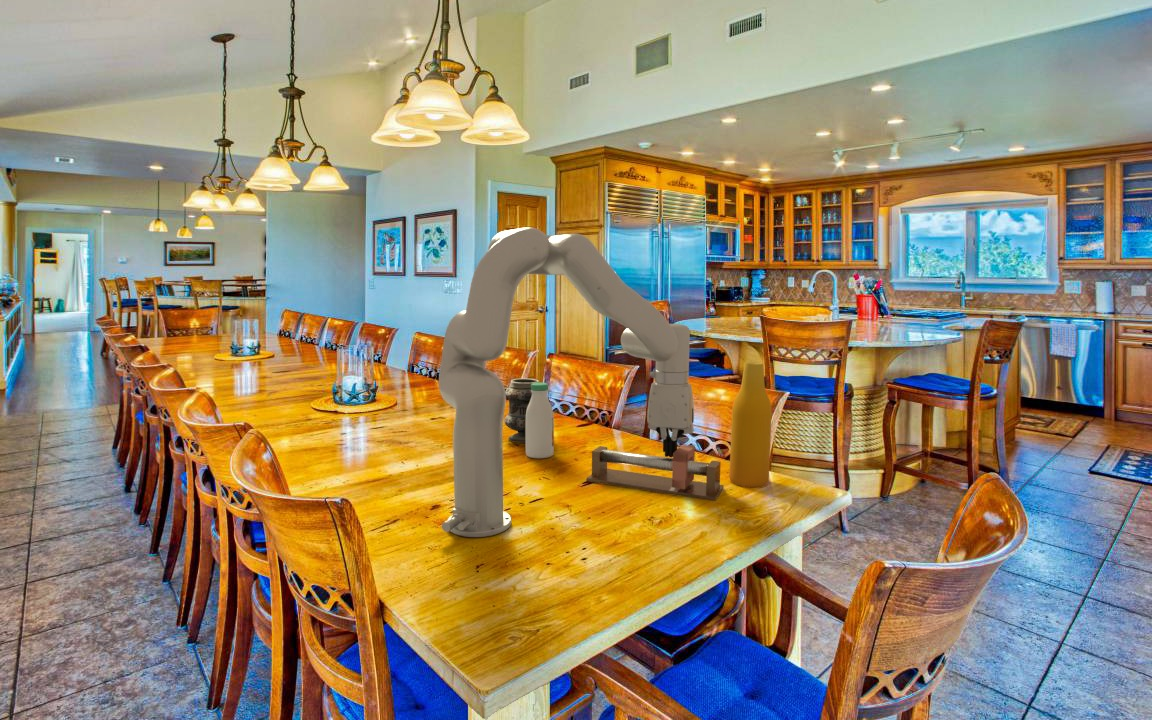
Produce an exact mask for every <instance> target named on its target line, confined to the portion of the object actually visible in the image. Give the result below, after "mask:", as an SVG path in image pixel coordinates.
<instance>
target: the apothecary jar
mask: <svg viewBox="0 0 1152 720" xmlns="http://www.w3.org/2000/svg"><path fill="white" fill-rule="evenodd" d="M532 383H540V381H539V379H536V378H527V377H525V378H514V379H511V380H510V385H509V386H508V387H507V388H506V389H505V393H506V399H507V400H508V414H506V416H505V417H504V419H503V423H504V424H505V426H506V427H507V428H508V429H510V430H513V431H516V433H514V434H512V435H510V436H509V437H508V440H509V441H510V442H512V443H518V444H526V410H527V407H528V405H529V402H530V400H531V397H532V392H531V384H532Z"/></svg>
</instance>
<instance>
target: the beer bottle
mask: <svg viewBox="0 0 1152 720" xmlns="http://www.w3.org/2000/svg"><path fill="white" fill-rule="evenodd" d="M765 385H766V384H765V372H764V362H760V361H745V362H744V366H743V372H742V379H741V386H740V389H739V391H738V393H737V394H736V397H735V398H734V401H733V403H732V408H731V427H730V429H731V430H730V432H731V433H730V453H729V470H728V471H729V472H728V476H729V481H730V482H731V483H732V484H733V485H736V486H738V487H743V488H744V487H745V488H752V489H753V488H755V489H757V488H762V487H765V486H767V485H768V483H769V481H770V480H769V479H770V459H771V458H770V457H771V456H770V453H771V435H772V434H771V433H772V416H773V410H772V409H773V408H772V403H771V400H770V398H769V396H768V394H767V391H766V386H765Z"/></svg>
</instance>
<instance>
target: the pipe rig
mask: <svg viewBox="0 0 1152 720" xmlns="http://www.w3.org/2000/svg"><path fill="white" fill-rule="evenodd" d="M608 463H609V464H617V465H625V466H631V467H637V468H645V469H652V470H660V471H667V472H673V457H665V456H657V455H652V454H651V455H649V454H641V453H636V452H635V453H634V452H629V451H618V450H611V449H608V446H601V445H600V446H598V447H596V448H594V449H593V450H591V474H590V475H589V476H588V477H586V482H590V483H595V484H601V483H602V484H603V485H608V486H614V487H623V488H628V489H636V490H641V491H647V492H655V493H660V494H666V495H672V496H673V495H674V496H680V497H685V498H686V497H687V498H692V499H697V500H698V499H699V500H704V501H705V500H706V501H710V502H711V501H712V502H716V500H717V499H718V497H719V496H720V494H721V493H722V491H723V490H724V484H721V465H722V464H721V463H722V462H721V461H719V460H718V461H717V460H711V461H710V462H702V461H696V460H694V461H689V460H688V473H687V474H694V476H695V475H696V476H701V477H702V476H703V477H706V482H703V481H697V480H692V482H691V483H690V484H689V485H688V486H687V488H686V489H680V488H673V487H672V477H669V476H661V475H656V474H655V475H654V474H647V473H641V472H635V471H634V472H633V471H626V470H619V469H612V468H608Z"/></svg>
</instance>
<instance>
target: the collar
mask: <svg viewBox="0 0 1152 720" xmlns="http://www.w3.org/2000/svg"><path fill="white" fill-rule="evenodd" d="M695 451H696V446H695V445H690V444H688V445H687V444H682V445H680V447H677V450H676V451H675V452H674V453H673V457H672V458H673V471H671V472H672V476H671V478H672V487H673V488H680V489H686V488H687V486H688V485H689V484H690V483H691V482H692V481H694V479H695V475H694V474H687V473H688V460H689V461H695V457H696V456H695V455H696V454H695V453H696V452H695Z"/></svg>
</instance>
